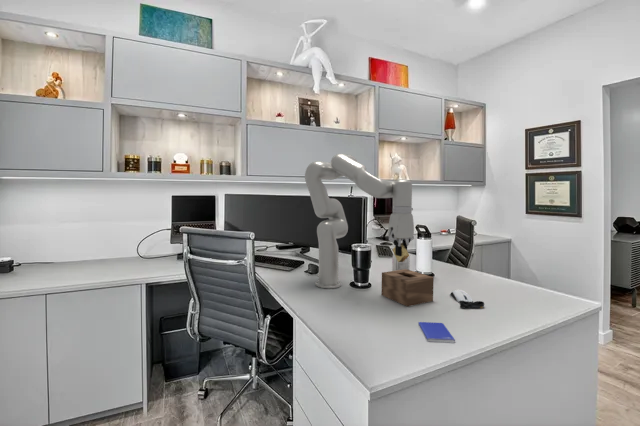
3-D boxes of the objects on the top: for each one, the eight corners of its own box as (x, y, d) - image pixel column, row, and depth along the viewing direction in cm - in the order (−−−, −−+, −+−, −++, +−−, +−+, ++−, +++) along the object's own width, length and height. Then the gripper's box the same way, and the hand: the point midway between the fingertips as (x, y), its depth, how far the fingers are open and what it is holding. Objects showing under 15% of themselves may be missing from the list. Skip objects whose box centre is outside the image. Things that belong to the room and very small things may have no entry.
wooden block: (398, 262, 130) (392, 249, 133) (403, 261, 131) (396, 249, 134) (404, 255, 126) (398, 243, 129) (409, 255, 127) (402, 242, 131)
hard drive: (455, 339, 94) (443, 322, 106) (427, 338, 95) (418, 321, 107) (455, 344, 94) (443, 327, 106) (427, 343, 95) (418, 326, 107)
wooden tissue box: (381, 295, 138) (381, 272, 138) (405, 290, 145) (406, 269, 144) (407, 306, 124) (408, 281, 124) (433, 301, 131) (433, 277, 130)
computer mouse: (464, 295, 140) (464, 286, 140) (486, 310, 122) (487, 300, 122) (442, 295, 140) (442, 286, 140) (461, 310, 122) (461, 300, 122)
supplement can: (388, 282, 158) (389, 252, 157) (398, 279, 164) (398, 250, 163) (402, 286, 152) (403, 255, 151) (412, 282, 158) (412, 253, 157)
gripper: (410, 209, 136) (409, 252, 137) (380, 210, 129) (379, 255, 130) (423, 210, 129) (422, 255, 130) (392, 211, 122) (391, 258, 123)
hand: (401, 255), depth 130 cm, fingers closed on wooden block, 2 cm apart
